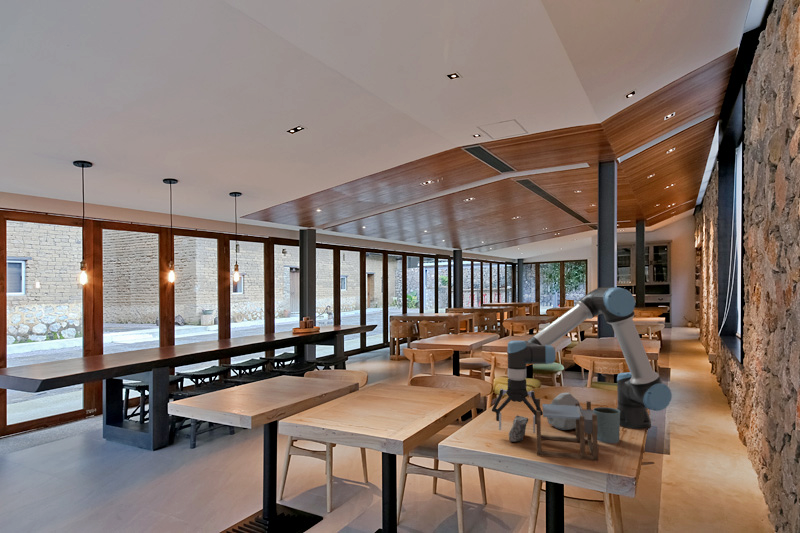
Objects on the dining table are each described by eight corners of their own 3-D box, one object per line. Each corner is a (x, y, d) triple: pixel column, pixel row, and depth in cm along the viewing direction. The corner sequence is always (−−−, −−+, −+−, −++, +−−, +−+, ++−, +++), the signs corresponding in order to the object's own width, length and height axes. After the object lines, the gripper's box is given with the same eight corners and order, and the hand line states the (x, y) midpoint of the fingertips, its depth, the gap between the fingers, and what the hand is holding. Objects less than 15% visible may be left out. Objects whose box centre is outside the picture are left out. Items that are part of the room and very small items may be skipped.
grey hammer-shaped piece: (592, 421, 189) (592, 406, 189) (598, 435, 172) (597, 418, 173) (542, 418, 194) (542, 403, 194) (543, 430, 178) (543, 414, 178)
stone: (566, 422, 218) (565, 389, 218) (586, 429, 206) (586, 394, 207) (546, 425, 213) (545, 391, 214) (565, 433, 202) (565, 397, 202)
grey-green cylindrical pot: (618, 445, 186) (618, 414, 187) (591, 441, 192) (591, 411, 192) (622, 438, 195) (621, 408, 195) (596, 434, 200) (595, 405, 201)
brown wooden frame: (591, 441, 191) (590, 401, 191) (597, 460, 170) (596, 415, 171) (536, 437, 196) (536, 398, 197) (536, 455, 176) (536, 411, 177)
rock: (520, 445, 185) (522, 419, 187) (499, 441, 190) (501, 415, 192) (532, 441, 198) (534, 417, 200) (513, 437, 203) (514, 413, 205)
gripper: (548, 378, 196) (548, 430, 195) (487, 375, 203) (487, 425, 202) (548, 382, 189) (549, 436, 188) (485, 378, 196) (485, 430, 195)
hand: (517, 430), depth 195 cm, fingers open, 13 cm apart
